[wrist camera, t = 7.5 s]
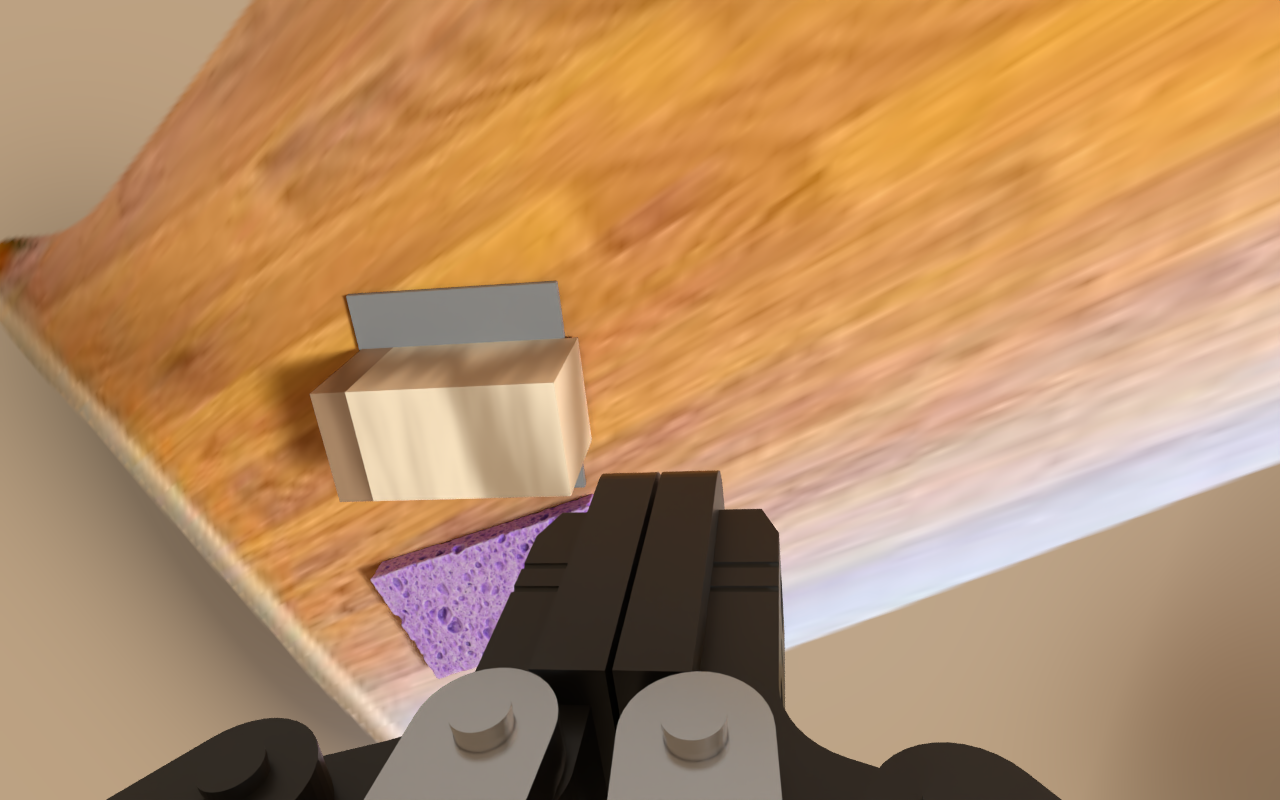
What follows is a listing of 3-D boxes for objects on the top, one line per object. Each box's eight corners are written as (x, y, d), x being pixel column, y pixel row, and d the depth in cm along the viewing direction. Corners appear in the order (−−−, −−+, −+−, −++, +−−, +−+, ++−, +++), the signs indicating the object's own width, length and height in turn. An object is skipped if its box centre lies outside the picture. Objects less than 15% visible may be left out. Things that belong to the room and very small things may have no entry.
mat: (557, 280, 36) (555, 282, 35) (586, 483, 40) (585, 487, 39) (348, 293, 37) (345, 296, 37) (397, 489, 41) (394, 492, 41)
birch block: (553, 382, 32) (309, 393, 33) (570, 495, 34) (340, 501, 35) (577, 337, 36) (361, 348, 38) (591, 439, 38) (386, 446, 40)
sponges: (383, 557, 43) (368, 578, 42) (598, 485, 40) (592, 505, 38) (447, 658, 46) (435, 682, 44) (655, 598, 43) (652, 621, 41)
